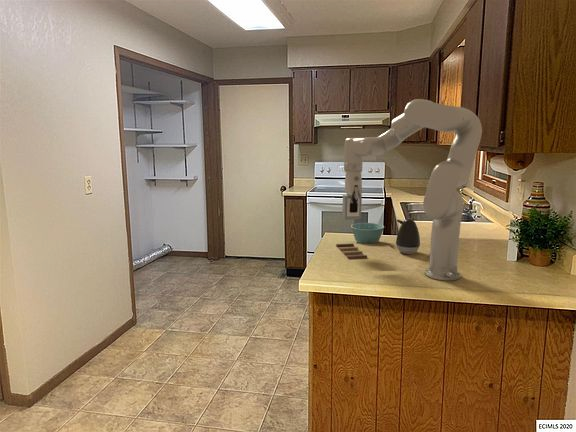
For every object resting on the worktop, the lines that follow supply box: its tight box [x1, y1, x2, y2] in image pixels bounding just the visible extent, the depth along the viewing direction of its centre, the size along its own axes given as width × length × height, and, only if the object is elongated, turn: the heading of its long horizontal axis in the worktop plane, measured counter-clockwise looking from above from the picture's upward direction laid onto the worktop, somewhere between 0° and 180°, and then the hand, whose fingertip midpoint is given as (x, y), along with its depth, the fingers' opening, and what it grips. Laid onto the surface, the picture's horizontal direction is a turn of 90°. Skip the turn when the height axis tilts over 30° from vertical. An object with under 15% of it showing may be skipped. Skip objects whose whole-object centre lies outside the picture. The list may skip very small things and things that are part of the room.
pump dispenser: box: [395, 218, 421, 255], centre depth 183 cm, size 10×10×15 cm
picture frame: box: [341, 194, 363, 221], centre depth 176 cm, size 4×7×10 cm, turn 97°
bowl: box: [350, 222, 385, 245], centre depth 202 cm, size 16×16×8 cm
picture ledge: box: [335, 243, 368, 260], centre depth 180 cm, size 20×8×2 cm, turn 7°
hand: (351, 210), depth 177 cm, fingers closed on picture frame, 4 cm apart
